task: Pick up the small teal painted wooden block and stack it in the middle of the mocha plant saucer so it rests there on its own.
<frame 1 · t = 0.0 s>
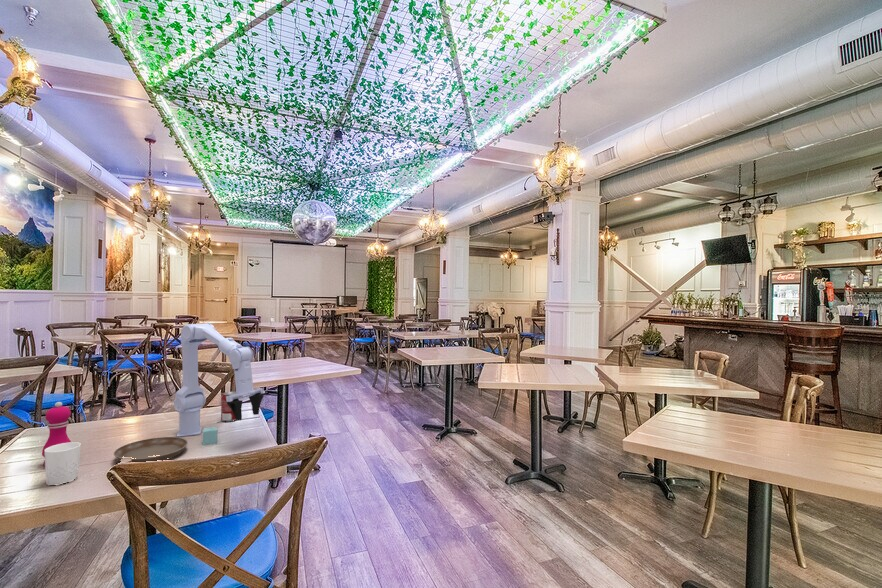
hand: (247, 417, 150), 11 cm above the table, tool pointing down, fingers open, 7 cm apart
soda can: (229, 420, 180), on the table
pepper mill: (57, 464, 132), on the table
white cup: (62, 481, 120), on the table
plant saucer: (152, 456, 140), on the table
block: (210, 442, 153), on the table
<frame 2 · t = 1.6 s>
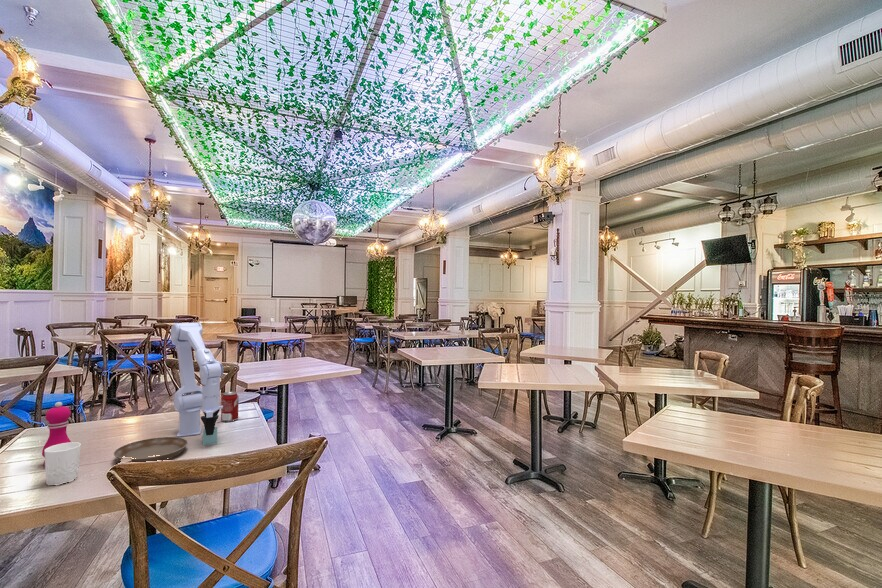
hand: (210, 431, 153), 4 cm above the table, tool pointing down, fingers open, 7 cm apart
nothing on the table moved.
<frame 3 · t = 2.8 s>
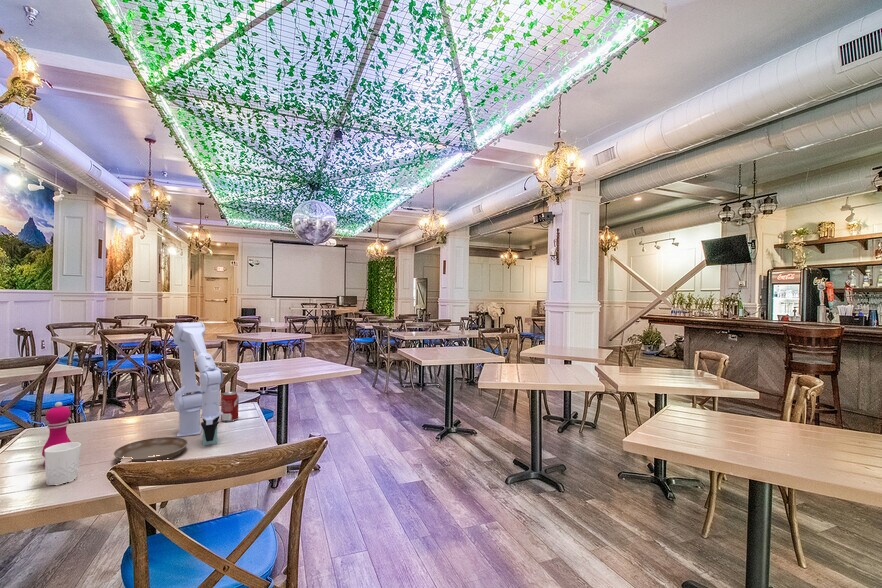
hand: (210, 438, 153), 1 cm above the table, tool pointing down, fingers closed on block, 4 cm apart
block: (210, 442, 153), on the table, touching gripper
everything else where it was.
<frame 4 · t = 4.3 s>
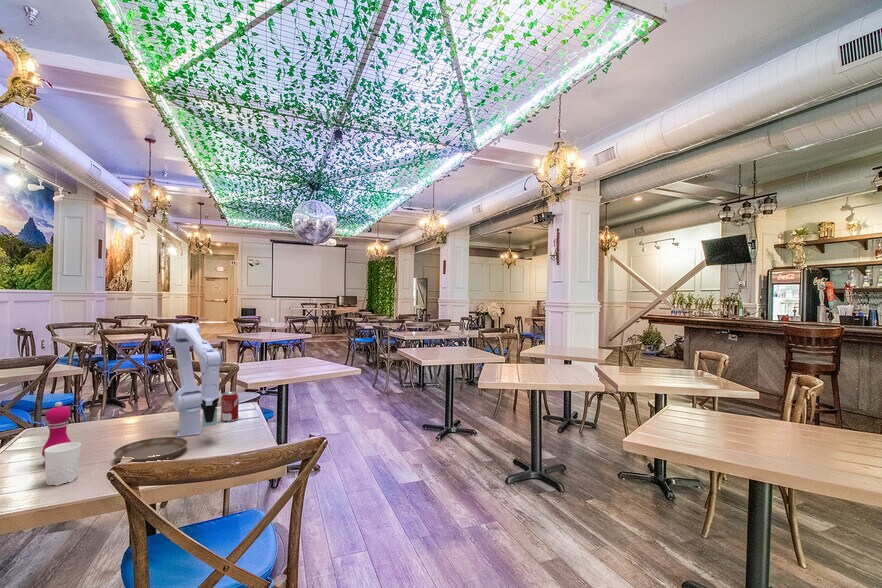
hand: (209, 420, 153), 8 cm above the table, tool pointing down, fingers closed on block, 4 cm apart
block: (209, 424, 153), point 7 cm above the table, touching gripper
everything else where it was.
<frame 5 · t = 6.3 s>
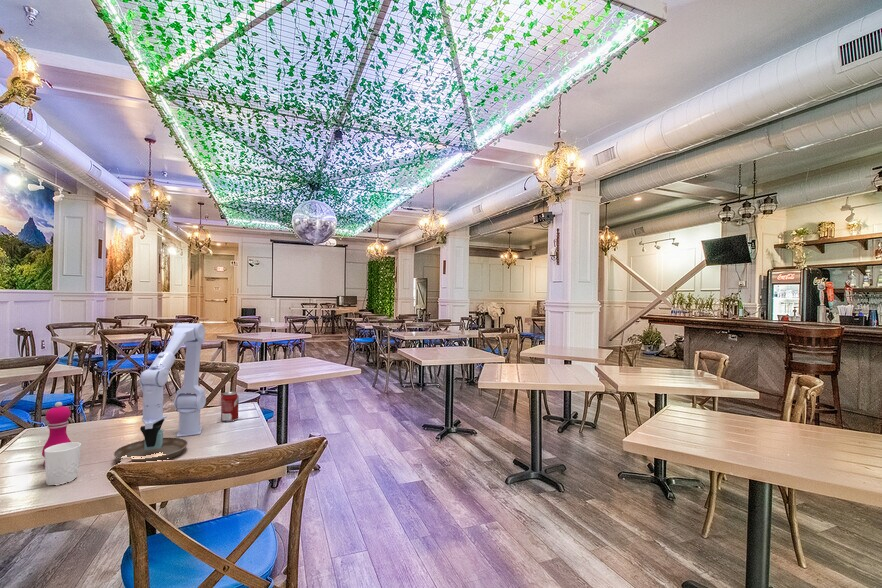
hand: (152, 443, 140), 4 cm above the table, tool pointing down, fingers closed on block, 4 cm apart
plant saucer: (152, 457, 140), on the table, touching block
block: (153, 446, 140), point 3 cm above the table, touching gripper, plant saucer
everything else where it was.
when the fingers open (4 cm above the table, at t = 7.1 s): block stays where it is, resting on plant saucer.
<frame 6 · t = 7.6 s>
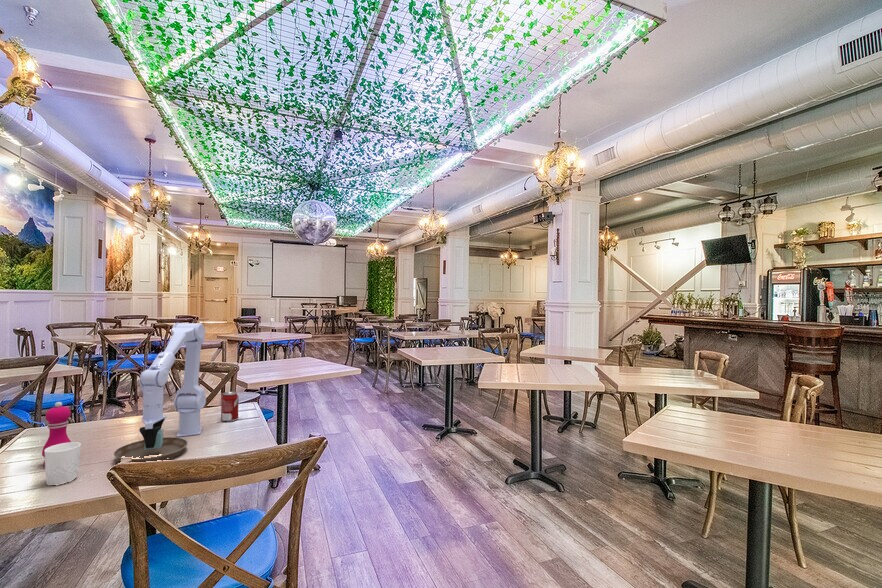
hand: (152, 443, 140), 4 cm above the table, tool pointing down, fingers open, 7 cm apart
block: (153, 446, 140), point 3 cm above the table, touching plant saucer
everything else where it was.
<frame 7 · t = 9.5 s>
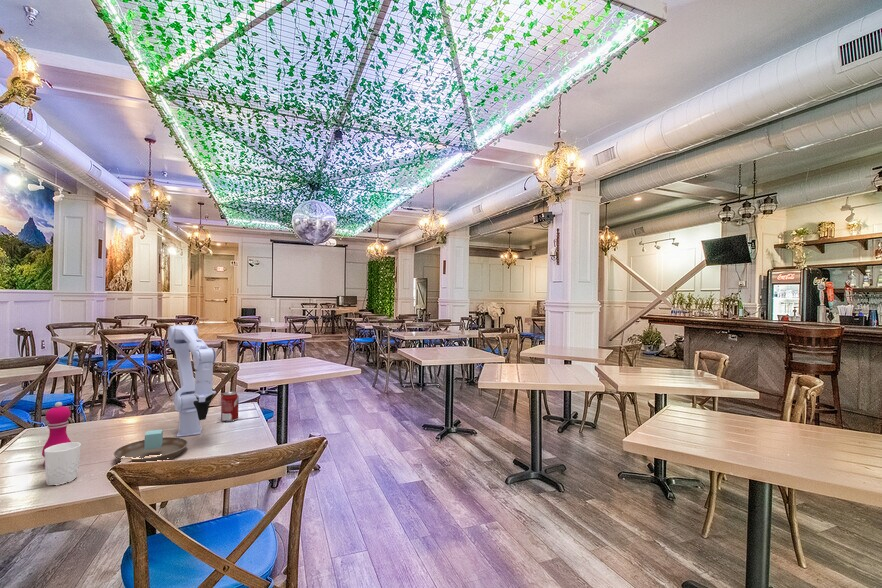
hand: (203, 416, 153), 9 cm above the table, tool pointing down, fingers open, 7 cm apart
nothing on the table moved.
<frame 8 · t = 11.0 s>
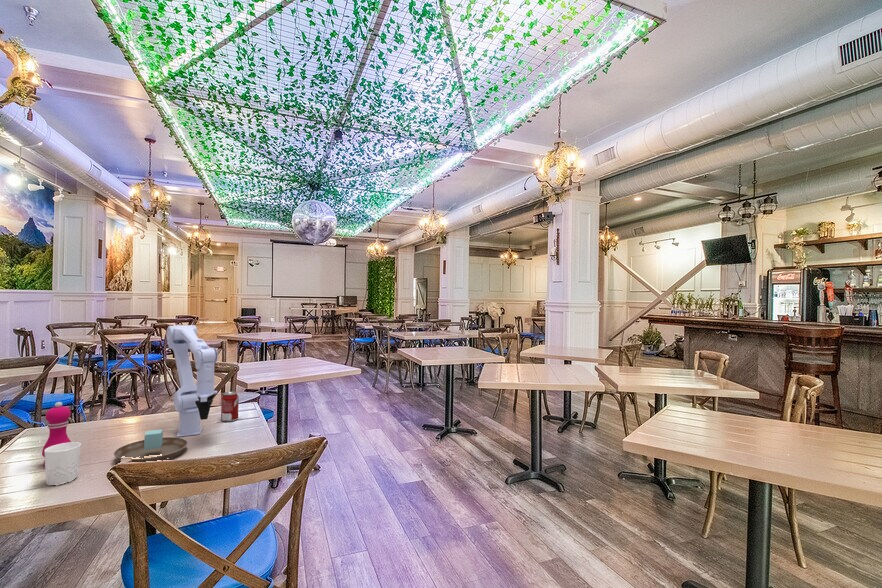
hand: (204, 416, 154), 9 cm above the table, tool pointing down, fingers open, 7 cm apart
nothing on the table moved.
at the end: block 0.4 cm from the plant saucer (horizontally); block touching plant saucer; block tilted 0° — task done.
